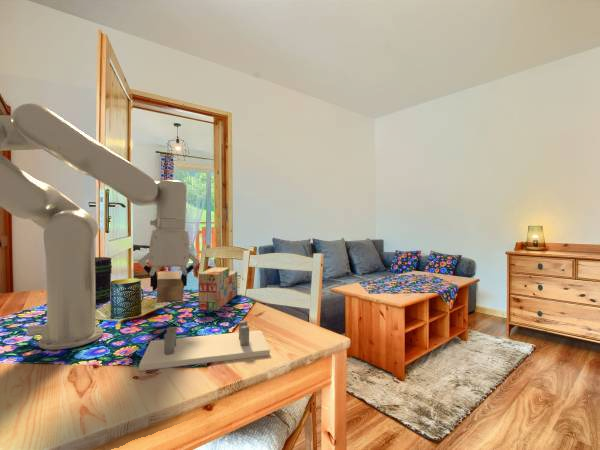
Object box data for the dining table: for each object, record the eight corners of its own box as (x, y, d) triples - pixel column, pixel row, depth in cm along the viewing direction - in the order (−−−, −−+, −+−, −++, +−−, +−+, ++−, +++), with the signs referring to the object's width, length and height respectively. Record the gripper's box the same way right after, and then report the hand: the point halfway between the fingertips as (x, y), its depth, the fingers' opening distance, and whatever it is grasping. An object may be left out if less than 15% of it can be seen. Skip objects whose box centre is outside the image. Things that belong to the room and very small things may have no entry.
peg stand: (139, 370, 60) (138, 344, 59) (150, 345, 71) (150, 323, 71) (269, 355, 67) (269, 331, 67) (260, 334, 78) (261, 314, 78)
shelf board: (156, 303, 73) (157, 286, 73) (157, 284, 93) (157, 271, 93) (183, 301, 76) (183, 285, 76) (178, 283, 96) (178, 270, 96)
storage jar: (85, 297, 112) (84, 257, 112) (115, 296, 115) (115, 256, 115) (74, 305, 103) (73, 261, 102) (107, 303, 106) (107, 260, 105)
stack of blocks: (222, 294, 120) (222, 263, 120) (237, 294, 119) (237, 263, 119) (198, 310, 99) (198, 272, 98) (216, 311, 98) (216, 273, 98)
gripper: (133, 224, 79) (130, 293, 79) (203, 226, 83) (201, 291, 84) (139, 223, 86) (137, 286, 86) (203, 225, 91) (201, 285, 91)
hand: (168, 288), depth 85 cm, fingers closed on shelf board, 6 cm apart
